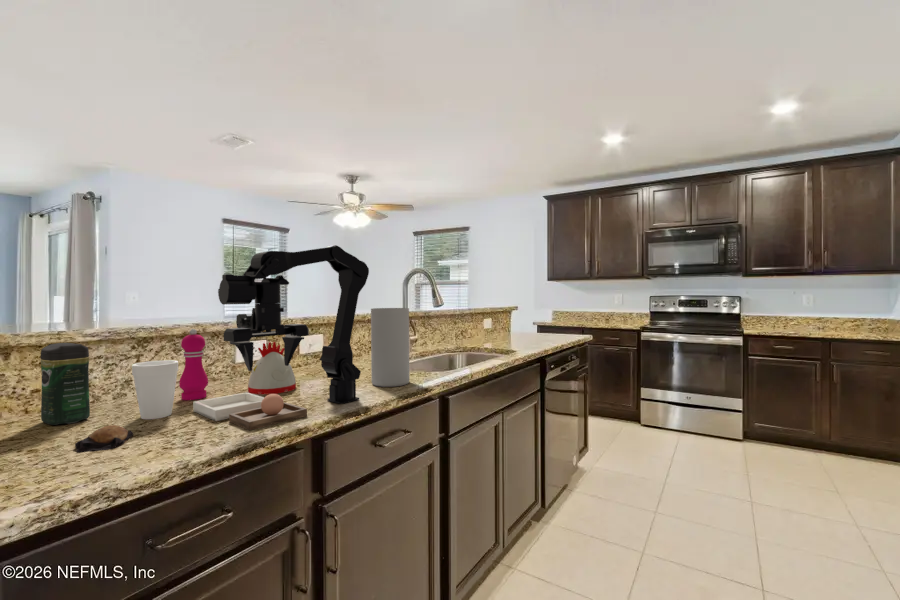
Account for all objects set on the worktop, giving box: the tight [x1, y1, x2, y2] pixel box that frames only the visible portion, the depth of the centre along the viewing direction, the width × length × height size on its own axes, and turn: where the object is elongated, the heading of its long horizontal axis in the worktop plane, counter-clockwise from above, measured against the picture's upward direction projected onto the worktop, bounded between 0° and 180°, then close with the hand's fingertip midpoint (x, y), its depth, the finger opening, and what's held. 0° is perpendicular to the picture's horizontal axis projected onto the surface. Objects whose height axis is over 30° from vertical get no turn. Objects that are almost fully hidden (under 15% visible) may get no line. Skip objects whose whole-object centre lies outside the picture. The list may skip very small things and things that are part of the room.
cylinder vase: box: [370, 307, 410, 388], centre depth 142 cm, size 12×12×25 cm
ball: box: [261, 393, 285, 415], centre depth 102 cm, size 5×5×5 cm
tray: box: [228, 402, 308, 431], centre depth 102 cm, size 14×10×2 cm
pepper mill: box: [178, 328, 209, 401], centre depth 124 cm, size 7×7×20 cm
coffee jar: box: [39, 342, 91, 426], centre depth 101 cm, size 10×8×19 cm
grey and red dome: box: [247, 341, 297, 395], centre depth 134 cm, size 14×14×15 cm
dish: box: [192, 391, 265, 422], centre depth 110 cm, size 14×14×2 cm
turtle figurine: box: [74, 424, 134, 454], centre depth 86 cm, size 11×8×4 cm
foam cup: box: [131, 359, 179, 420], centre depth 105 cm, size 10×9×13 cm
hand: (269, 368), depth 103 cm, fingers open, 9 cm apart
